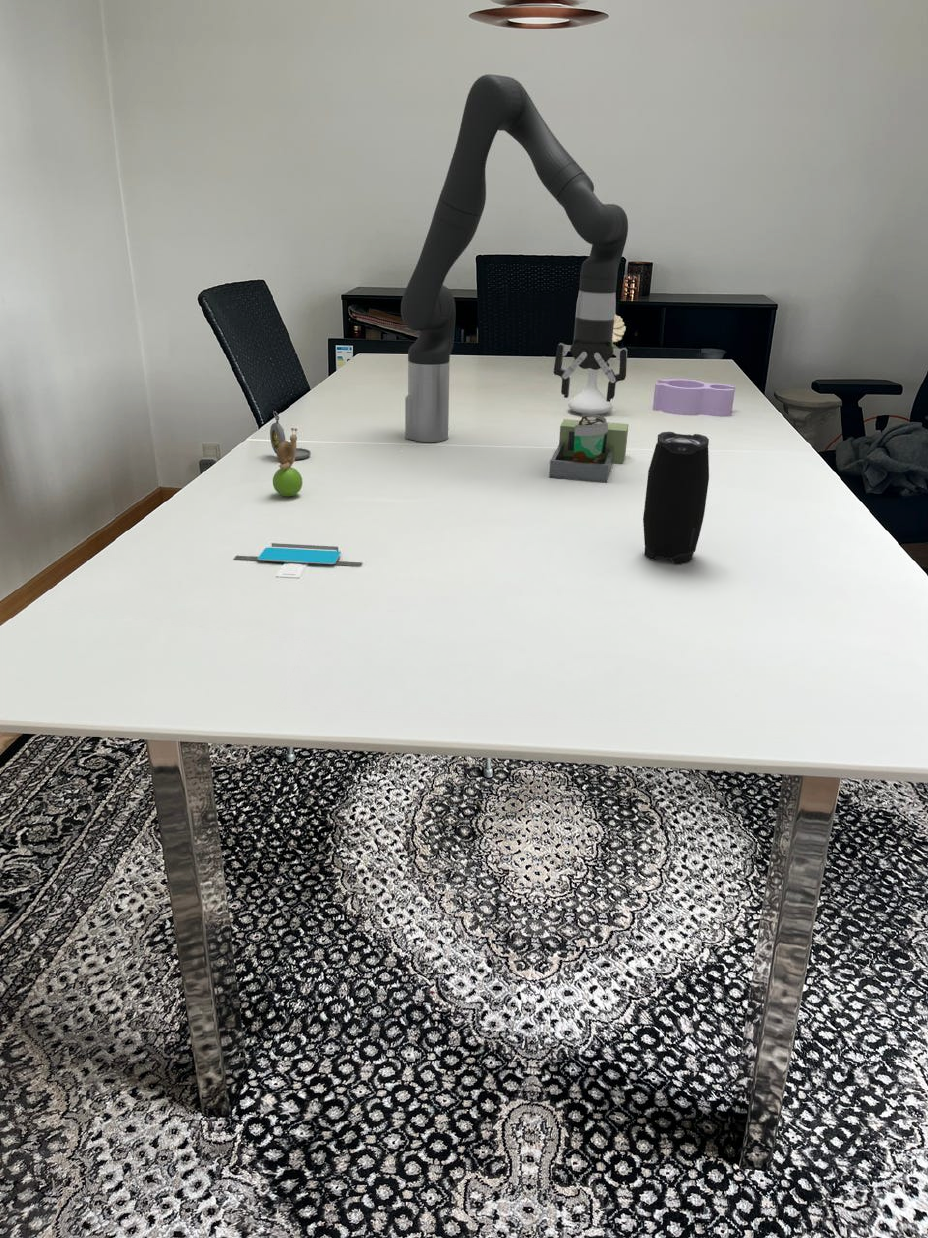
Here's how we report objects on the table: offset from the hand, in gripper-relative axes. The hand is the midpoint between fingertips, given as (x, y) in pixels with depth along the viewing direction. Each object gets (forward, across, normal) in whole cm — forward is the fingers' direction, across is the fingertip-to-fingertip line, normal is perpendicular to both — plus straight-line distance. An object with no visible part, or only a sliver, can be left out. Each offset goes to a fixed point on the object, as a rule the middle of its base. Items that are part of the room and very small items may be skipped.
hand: (587, 398), depth 194 cm
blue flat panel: (+15, -37, -66) cm, 77 cm away
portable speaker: (+14, +19, -46) cm, 52 cm away
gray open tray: (+15, 0, 0) cm, 15 cm away
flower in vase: (+15, -3, +53) cm, 55 cm away
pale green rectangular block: (+15, +1, +10) cm, 18 cm away
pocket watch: (+16, -60, -10) cm, 63 cm away
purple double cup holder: (+15, +22, +64) cm, 70 cm away
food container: (+14, +2, 0) cm, 14 cm away
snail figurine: (+15, -51, -34) cm, 63 cm away
